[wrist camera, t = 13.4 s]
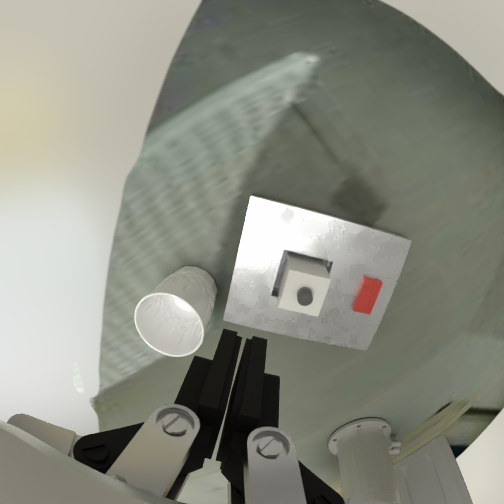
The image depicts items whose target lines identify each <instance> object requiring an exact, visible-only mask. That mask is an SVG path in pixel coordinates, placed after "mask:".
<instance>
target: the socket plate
mask: <svg viewBox="0 0 504 504" xmlns="http://www.w3.org/2000/svg"><path fill="white" fill-rule="evenodd" d="M411 242H412V241H411V240H410V239H408V238H407V237H405V236H402V235H399V234H396V233H393V232H390V231H386V230H383V229H380V228H377V227H373V226H370V225H367V224H363V223H360V222H357V221H353V220H350V219H346V218H343V217H339V216H336V215H332V214H329V213H325V212H321V211H318V210H314V209H310V208H306V207H303V206H299V205H295V204H291V203H287V202H283V201H279V200H275V199H271V198H267V197H263V196H259V195H255V194H252V195H251V198H250V202H249V206H248V211H247V215H246V219H245V224H244V228H243V232H242V237H241V241H240V246H239V250H238V255H237V259H236V264H235V268H234V273H233V277H232V282H231V286H230V291H229V295H228V300H227V304H226V309H225V314H224V318H223V320H224V321H228V322H232V323H235V324H239V325H243V326H248V327H252V328H256V329H260V330H264V331H269V332H273V333H278V334H282V335H287V336H291V337H296V338H301V339H306V340H311V341H316V342H321V343H326V344H331V345H337V346H342V347H348V348H354V349H360V350H366V351H367V349H368V347H369V345H370V343H371V341H372V339H373V337H374V335H375V333H376V330H377V328H378V326H379V324H380V322H381V319H382V317H383V315H384V313H385V310H386V308H387V306H388V303H389V301H390V299H391V296H392V294H393V291H394V289H395V286H396V284H397V281H398V278H399V276H400V273H401V270H402V268H403V265H404V262H405V259H406V257H407V254H408V251H409V248H410V245H411ZM288 253H292V254H296V255H300V256H304V257H308V258H312V259H316V260H320V261H323V262H324V264H325V266H326V269H327V271H328V273H329V276H330V278H331V281H330V284H329V287H328V290H327V293H326V296H325V299H324V301H323V304H322V307H321V310H320V312H319V315H318V317H317V316H313V315H308V314H304V313H299V312H295V311H290V310H286V309H282V308H278V295H279V283H280V280H281V276H282V273H283V269H284V265H285V262H286V258H287V255H288Z"/></svg>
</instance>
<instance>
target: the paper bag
mask: <svg viewBox="0 0 504 504" xmlns="http://www.w3.org/2000/svg"><path fill="white" fill-rule="evenodd" d="M393 467H394V470H395V474H396V478H397V482H398V486H399V490H400V494H401V498H402V502H403V504H473V503H472V500H471V497H470V494H469V492H468V489H467V486H466V484H465V482H464V479H463V476H462V474H461V471H460V469H459V466H458V464H457V462H456V459H455V457H454V455H453V452H452V450H451V448H450V445H449V443H448V441H447V439H446V437H445V436H441V437H437V438H435V439H433V440H432V441H430V442H429V443H428V444H426V445H425V446H423V447H422V448H420V449H419V450H417V451H416V452H414V453H412V454H411V455H409V456H408V457H406V458H404V459H403V460H401V461H399V462H398V463H396V464H394V465H393Z"/></svg>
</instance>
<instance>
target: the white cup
mask: <svg viewBox="0 0 504 504" xmlns="http://www.w3.org/2000/svg"><path fill="white" fill-rule="evenodd" d="M216 295H217V288H216V285H215V281H214V279H213V278H212V277H211V276H210V275H209V274H208V273H207V271H205V270H202V269H200V268H198V267H196V266H184V267H182V268H180V269H178V270H176V271H175V272H174V273H172V274H171V275H170V276H168V277H167V278H166V279H164V280H163V281H162V282H161V283H159V284H158V285H157V286H156V287H155V288H154V289H153V290H152V291H150V292H149V293H148V294H147V295H146V296H145V297H144V298H142V299H141V300H140V302H139V303H138V305H137V307H136V309H135V315H134V318H135V325H136V328H137V330H138V332H139V334H140V336H141V337H142V339H143V340H144V341H145V342H146V343H147V344H148V345H149V346H150V347H151V348H153V349H154V350H156V351H158V352H160V353H162V354H165V355H168V356H173V357H182V356H187V355H189V354H192V353H193V352H195V351H196V350H197V349H198V348H199V347H200V345H201V343H202V341H203V338H204V335H205V332H206V330H207V327H208V324H209V321H210V318H211V315H212V312H213V308H214V304H215V301H216Z"/></svg>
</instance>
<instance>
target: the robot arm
mask: <svg viewBox="0 0 504 504" xmlns="http://www.w3.org/2000/svg"><path fill="white" fill-rule="evenodd" d="M241 340H242V337H239V336H237V332H235V331H231V330H227V329H223V332H222V335H221V338H220V341H219V344H218V347H217V350H216V352H215V355H214V358H213V360H209V359H206V358H202V357H199V356H194V358H193V361H192V363H191V365H190V368H189V370H188V372H187V375H186V377H185V379H184V382H183V384H182V386H181V388H180V391H179V393H178V395H177V398H176V400H175V402H174V404H165V405H162V406H160V407H158V408H157V409H155V410H154V411H153V412H152V414H151V415H150V416H149V418H148V419H147V420H146V422H143V423H139V424H135V425H131V426H127V427H123V428H119V429H114V430H109V431H105V432H100V433H95V434H89V435H86V436H83V437H82V436H79V435H76V433H75V432H74V431H71V430H68V429H64V428H61V427H58V426H55V425H53V424H50V423H47V422H44V421H42V420H39V419H37V418H34V417H32V416H29V415H25V414H16V415H14V416H12V417H11V418H10V419H9V420H8V422H7V423H6V422H3V421H0V504H185V503H181V502H178V501H176V500H177V498H178V496H179V494H180V493H181V491H182V489H183V487H184V485H185V483H186V481H187V479H188V477H189V475H190V473H191V472H193V471H196V470H198V469H200V468H202V467H203V463H204V459H205V458H208V459H211V458H212V454H213V451H214V448H215V444H216V441H217V438H218V434H219V431H220V428H221V424H222V421H223V418H224V414H225V410H226V407H227V402H228V398H229V394H230V389H231V385H232V380H233V376H234V372H235V367H236V363H237V358H238V354H239V349H240V345H241ZM266 348H267V339H263V338H259V337H255V336H253V337H252V340H251V339H246V342H245V345H244V349H243V352H242V356H241V359H240V363H239V366H238V370H237V373H236V377H235V380H234V384H233V387H232V391H231V395H230V400H229V404H228V409H227V413H226V417H225V422H224V426H223V431H222V435H221V440H220V444H219V448H218V453H217V457H216V461H220V462H221V467H220V469H221V470H222V471H221V473H222V474H223V475H224V476H225V477H226V479H227V480H228V504H403V502H402V498H401V494H400V490H399V486H398V482H397V478H396V474H395V470H394V467H393V463H392V459H391V456H390V455H398V454H399V453H400V448H399V447H400V446H401V441H391V440H390V436H391V431H392V430H391V427H390V425H389V423H388V422H387V421H385V420H383V419H378V418H366V419H360V420H357V421H353V422H351V423H348V424H346V425H344V426H342V427H341V428H339V429H338V430H336V431H335V432H334V433H333V434H332V435H331V437H330V438H329V441H328V448H329V450H330V452H331V453H332V454H334V455H335V456H338V462H339V470H340V478H341V487H342V496H343V498H342V497H341V496H340V495H339V494H338V493H337V492H336V491H334V490H333V489H332V488H331V487H329V486H328V485H327V484H326V483H324V482H323V481H322V480H321V479H320V478H318V477H317V476H316V475H315V474H314V473H312V472H311V471H310V470H309V469H308V468H307V467H305V466H304V465H303V464H302V463H301V462H300V461H299V460H298V458H297V453H296V448H295V444H294V442H293V439H292V438H291V437H290V436H289V435H288V434H287V433H286V432H284V431H283V430H280V429H278V420H279V388H280V377H279V376H276V375H271V374H266V373H264V370H265V359H266Z"/></svg>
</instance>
